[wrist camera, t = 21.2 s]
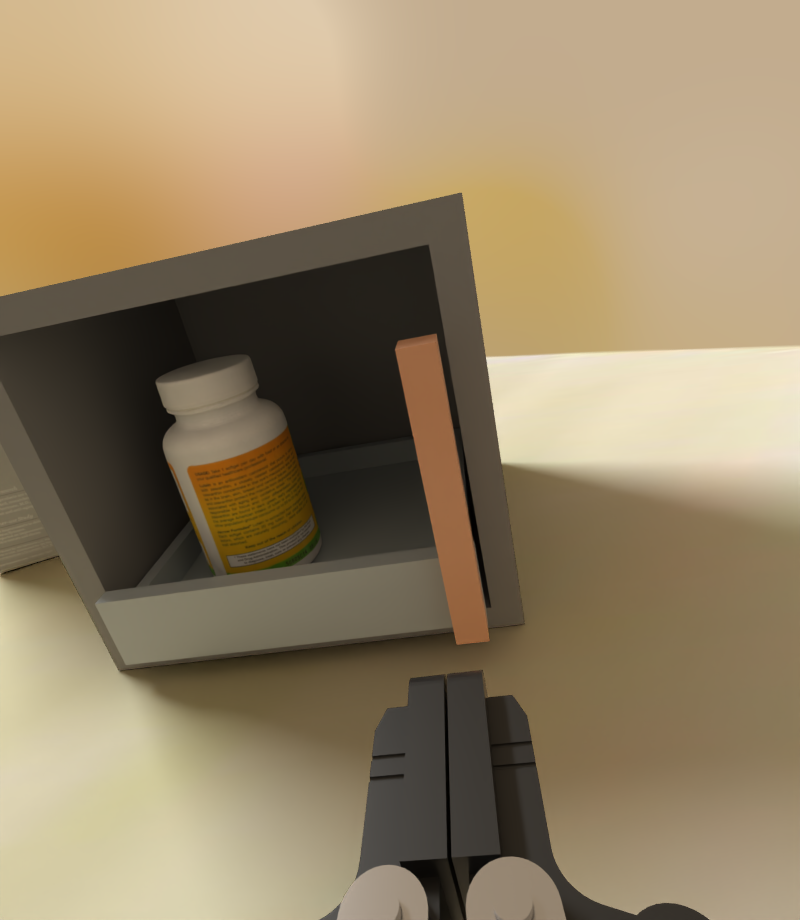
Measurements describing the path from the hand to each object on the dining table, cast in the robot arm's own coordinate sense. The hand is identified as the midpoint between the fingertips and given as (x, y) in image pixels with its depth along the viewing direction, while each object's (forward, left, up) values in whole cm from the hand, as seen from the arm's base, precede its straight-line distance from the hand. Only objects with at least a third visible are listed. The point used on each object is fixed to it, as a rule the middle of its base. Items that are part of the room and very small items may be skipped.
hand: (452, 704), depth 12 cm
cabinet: (-7, +18, -6) cm, 20 cm away
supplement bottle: (-9, +14, -5) cm, 18 cm away
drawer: (-7, +16, -5) cm, 18 cm away
